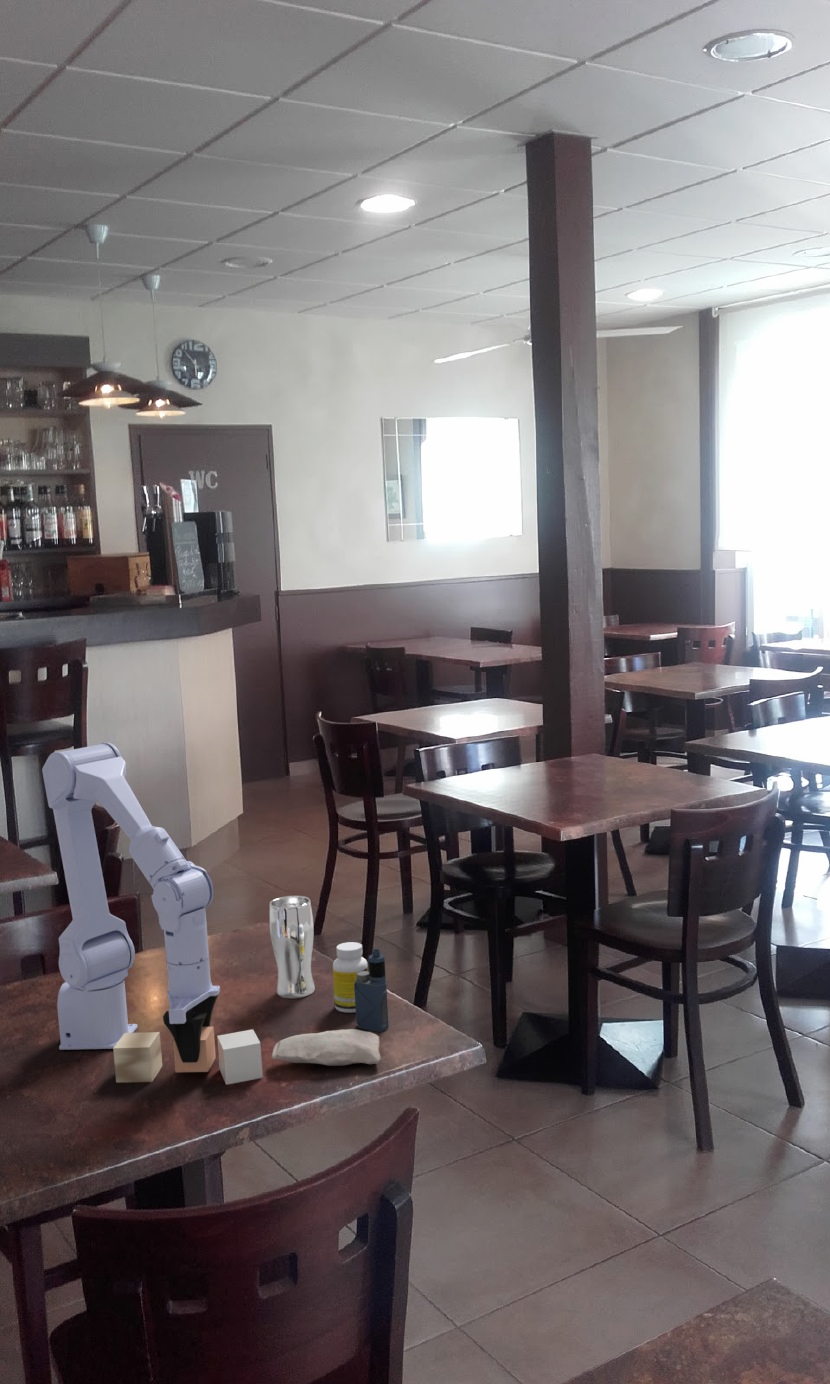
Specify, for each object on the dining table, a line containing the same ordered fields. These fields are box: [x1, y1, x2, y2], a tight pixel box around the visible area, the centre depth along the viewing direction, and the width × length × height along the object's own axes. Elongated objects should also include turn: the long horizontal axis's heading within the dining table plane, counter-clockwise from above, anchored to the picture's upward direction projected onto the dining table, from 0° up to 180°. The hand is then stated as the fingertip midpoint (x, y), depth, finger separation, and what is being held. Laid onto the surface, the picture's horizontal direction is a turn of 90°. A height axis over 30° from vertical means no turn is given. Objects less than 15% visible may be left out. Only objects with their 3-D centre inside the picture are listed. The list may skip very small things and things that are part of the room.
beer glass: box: [269, 895, 316, 999], centre depth 190 cm, size 7×7×15 cm
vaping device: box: [354, 948, 389, 1033], centre depth 174 cm, size 3×5×12 cm, turn 58°
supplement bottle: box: [332, 941, 369, 1014], centre depth 183 cm, size 5×5×10 cm
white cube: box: [216, 1028, 264, 1085], centre depth 162 cm, size 5×5×5 cm
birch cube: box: [113, 1031, 163, 1084], centre depth 163 cm, size 5×5×5 cm
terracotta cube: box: [172, 1026, 216, 1073], centre depth 163 cm, size 4×4×4 cm
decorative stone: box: [271, 1028, 381, 1067], centre depth 165 cm, size 10×4×15 cm
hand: (194, 1053), depth 163 cm, fingers closed on terracotta cube, 4 cm apart
